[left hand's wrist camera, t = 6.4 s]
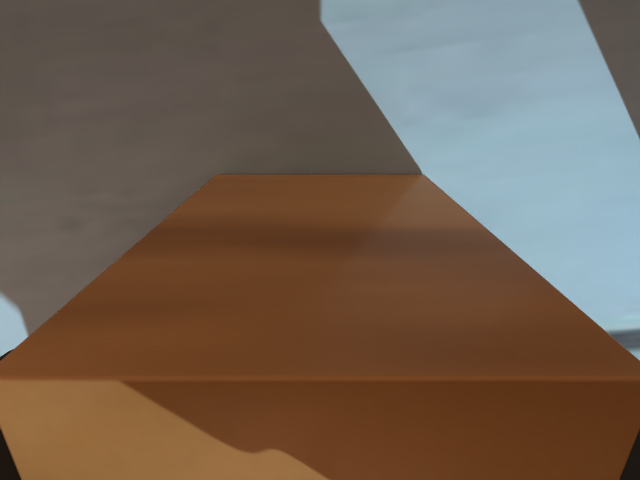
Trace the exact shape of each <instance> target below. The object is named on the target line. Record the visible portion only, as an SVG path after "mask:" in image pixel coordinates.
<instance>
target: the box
mask: <svg viewBox="0 0 640 480" xmlns="http://www.w3.org/2000/svg"><path fill="white" fill-rule="evenodd" d="M0 429H1V431H2V434H3V436H4V439H5V441H6V444H7V446H8V449H9V451H10V453H11V456H12V458H13V461H14V463H15V466H16V468H17V471H18V473H19V476H20V478H21V480H619V479H620V477H621V474H622V472H623V469H624V467H625V465H626V462H627V460H628V457H629V455H630V452H631V450H632V447H633V445H634V442H635V440H636V437H637V435H638V432H639V430H640V361H639V360H638V359H637V358H636V357H635V356H634V355H632V354H631V353H630V352H629V351H628V350H627V349H625V348H624V347H623V346H622V345H621V344H620V343H619V342H617V341H616V340H615V339H614V338H613V337H612V336H610V335H609V334H608V333H607V332H606V331H605V330H603V329H602V328H601V327H600V326H599V325H598V324H597V323H595V322H594V321H593V320H592V319H591V318H590V317H588V316H587V315H586V314H585V313H584V312H583V311H581V310H580V309H579V308H578V307H577V306H576V305H575V304H573V303H572V302H571V301H570V300H569V299H568V298H566V297H565V296H564V295H563V294H562V293H561V292H559V291H558V290H557V289H556V288H555V287H554V286H552V285H551V284H550V283H549V282H548V281H547V280H546V279H544V278H543V277H542V276H541V275H540V274H539V273H537V272H536V271H535V270H534V269H533V268H532V267H530V266H529V265H528V264H527V263H526V262H525V261H524V260H522V259H521V258H520V257H519V256H518V255H517V254H515V253H514V252H513V251H512V250H511V249H510V248H508V247H507V246H506V245H505V244H504V243H503V242H502V241H500V240H499V239H498V238H497V237H496V236H495V235H493V234H492V233H491V232H490V231H489V230H488V229H486V228H485V227H484V226H483V225H482V224H481V223H480V222H478V221H477V220H476V219H475V218H474V217H473V216H471V215H470V214H469V213H468V212H467V211H466V210H464V209H463V208H462V207H461V206H460V205H459V204H458V203H456V202H455V201H454V200H453V199H452V198H451V197H449V196H448V195H447V194H446V193H445V192H444V191H442V190H441V189H440V188H439V187H438V186H437V185H435V184H434V183H433V182H432V181H431V180H430V179H429V178H427V177H426V176H425V175H215V176H214V177H213V178H212V179H211V180H209V181H208V182H207V183H206V184H205V185H204V186H203V187H201V188H200V189H199V190H198V191H197V192H196V193H194V194H193V195H192V196H191V197H190V198H189V199H187V200H186V201H185V202H184V203H183V204H182V205H180V206H179V207H178V208H177V209H176V210H175V211H174V212H172V213H171V214H170V215H169V216H168V217H167V218H165V219H164V220H163V221H162V222H161V223H160V224H158V225H157V226H156V227H155V228H154V229H153V230H152V231H150V232H149V233H148V234H147V235H146V236H145V237H143V238H142V239H141V240H140V241H139V242H138V243H136V244H135V245H134V246H133V247H132V248H131V249H130V250H128V251H127V252H126V253H125V254H124V255H123V256H121V257H120V258H119V259H118V260H117V261H116V262H114V263H113V264H112V265H111V266H110V267H109V268H107V269H106V270H105V271H104V272H103V273H102V274H101V275H99V276H98V277H97V278H96V279H95V280H94V281H92V282H91V283H90V284H89V285H88V286H87V287H85V288H84V289H83V290H82V291H81V292H80V293H79V294H77V295H76V296H75V297H74V298H73V299H72V300H70V301H69V302H68V303H67V304H66V305H65V306H63V307H62V308H61V309H60V310H59V311H58V312H57V313H55V314H54V315H53V316H52V317H51V318H50V319H48V320H47V321H46V322H45V323H44V324H43V325H41V326H40V327H39V328H38V329H37V330H36V331H35V332H33V333H32V334H31V335H30V336H29V337H28V338H26V339H25V340H24V341H23V342H22V343H21V344H19V345H18V346H17V347H16V348H15V349H14V350H12V351H11V352H10V353H9V354H8V355H7V356H6V357H4V358H3V359H2V360H1V361H0Z"/></svg>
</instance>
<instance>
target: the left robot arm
mask: <svg viewBox="0 0 640 480" xmlns="http://www.w3.org/2000/svg"><path fill="white" fill-rule="evenodd" d="M13 350H14V349H13ZM11 351H12V350H11ZM11 351H9V352H7V353H6V354H4V355H3V356H1V357H0V361H1V360H2V359H3V358H4V357H6V356H7V355H8V354H9V353H10V352H11ZM0 480H21V478H20V476H19V473H18V471H17V468H16V466H15V463H14V461H13V458H12V456H11V453H10V451H9V449H8V446H7V444H6V441H5V439H4V436H3V434H2V431H1V429H0ZM619 480H640V430H639V432H638V435H637V437H636V440H635V442H634V445H633V447H632V450H631V452H630V455H629V457H628V460H627V462H626V465H625V467H624V469H623V472H622V474H621V477H620V479H619Z"/></svg>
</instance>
